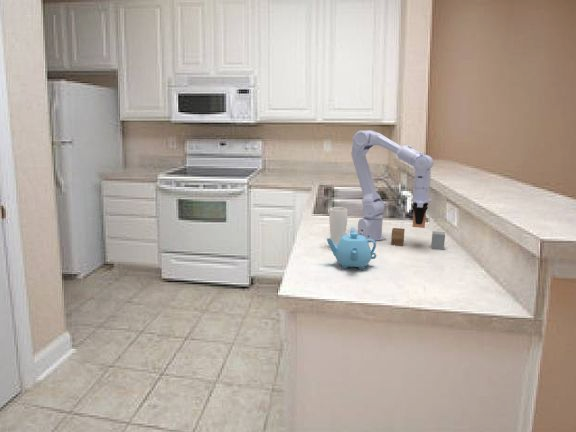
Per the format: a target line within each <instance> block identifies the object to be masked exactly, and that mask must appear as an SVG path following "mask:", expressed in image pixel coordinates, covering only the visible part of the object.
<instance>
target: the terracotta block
mask: <svg viewBox="0 0 576 432" xmlns="http://www.w3.org/2000/svg"><path fill="white" fill-rule="evenodd" d="M412 215H413V216H412V228H420V229H421V228H422V229H425V228H426V217H427V216H426V215H427V211H426V212H425V214H424V218H423V222H422V224H416V221H415V213H414V211H413V214H412Z"/></svg>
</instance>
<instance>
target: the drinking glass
mask: <svg viewBox="0 0 576 432" xmlns="http://www.w3.org/2000/svg"><path fill="white" fill-rule="evenodd" d="M348 212H349V211H348V208H346V207H341V206H336V207H330V208H329V221H328V222H329V235H330V236H329V238H331V239H332V241H333V242H334V244H335V245H336V246H337V245H338V243H339V241H340V239H341V238H342V236H343V235H347V233H346V232H347V228H348V227H347V225H348V217H349V215H348Z"/></svg>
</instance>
